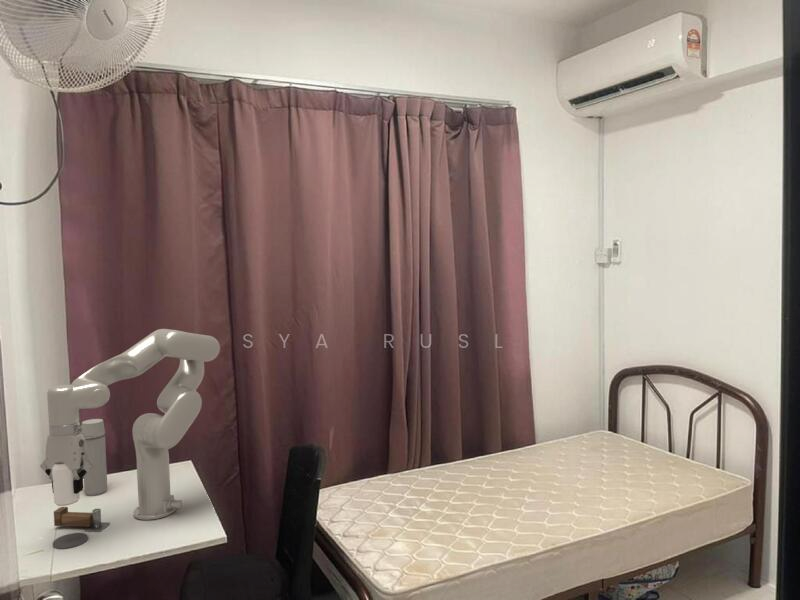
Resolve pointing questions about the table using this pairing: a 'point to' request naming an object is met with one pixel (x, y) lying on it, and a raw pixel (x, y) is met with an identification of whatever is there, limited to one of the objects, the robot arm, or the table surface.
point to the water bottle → (95, 457)
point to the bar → (72, 518)
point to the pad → (70, 540)
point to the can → (63, 485)
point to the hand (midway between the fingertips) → (67, 491)
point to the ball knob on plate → (97, 522)
